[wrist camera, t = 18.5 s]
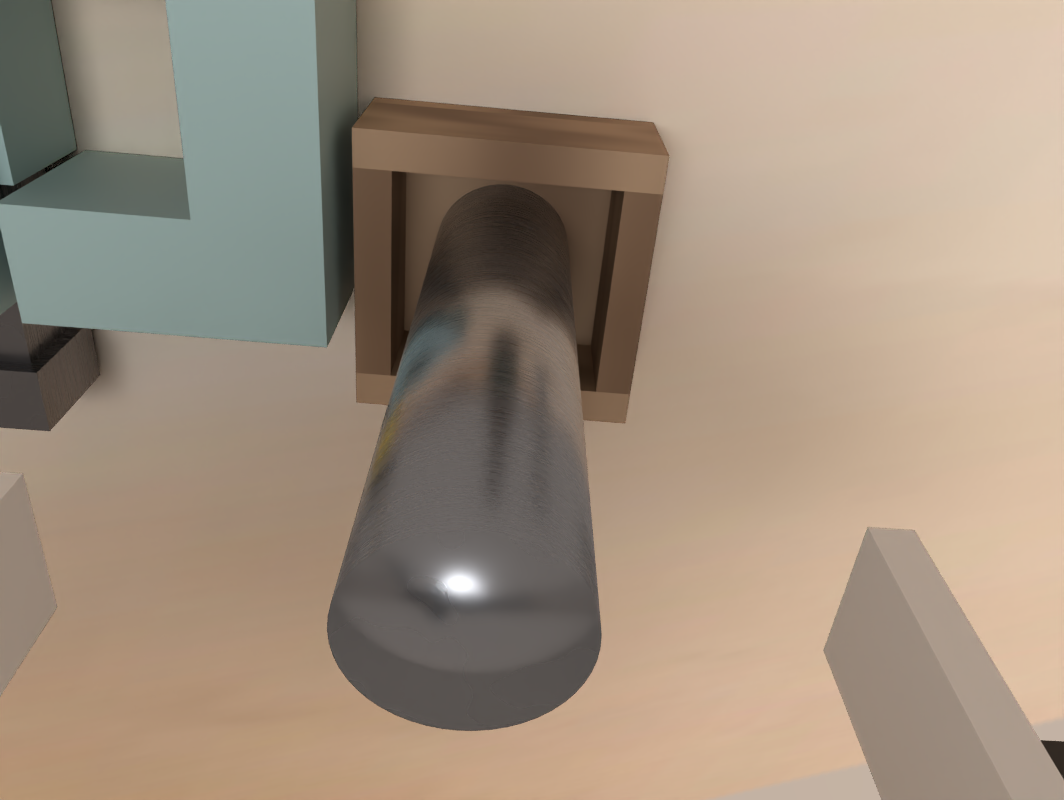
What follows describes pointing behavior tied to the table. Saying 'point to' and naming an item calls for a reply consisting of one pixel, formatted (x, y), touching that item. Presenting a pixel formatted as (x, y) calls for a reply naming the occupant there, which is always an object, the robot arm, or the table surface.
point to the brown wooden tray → (521, 160)
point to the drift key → (41, 364)
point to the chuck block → (189, 181)
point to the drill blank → (478, 488)
